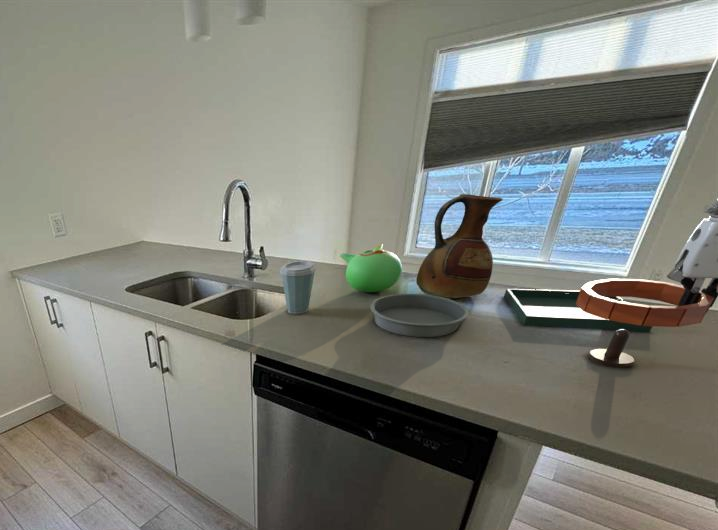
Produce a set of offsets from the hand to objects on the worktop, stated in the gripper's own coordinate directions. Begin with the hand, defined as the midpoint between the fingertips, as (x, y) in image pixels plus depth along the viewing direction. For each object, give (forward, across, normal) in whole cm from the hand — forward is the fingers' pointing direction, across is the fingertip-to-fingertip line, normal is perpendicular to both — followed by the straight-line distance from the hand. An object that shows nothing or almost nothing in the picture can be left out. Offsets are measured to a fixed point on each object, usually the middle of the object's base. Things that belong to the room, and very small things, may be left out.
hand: (692, 309), depth 80 cm
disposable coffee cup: (+11, -82, +20) cm, 85 cm away
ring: (0, -8, 0) cm, 9 cm away
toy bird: (+12, -60, +44) cm, 75 cm away
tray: (+12, -8, +30) cm, 33 cm away
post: (+12, -9, 0) cm, 15 cm away
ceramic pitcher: (+12, -36, +42) cm, 56 cm away
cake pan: (+12, -47, +16) cm, 51 cm away
